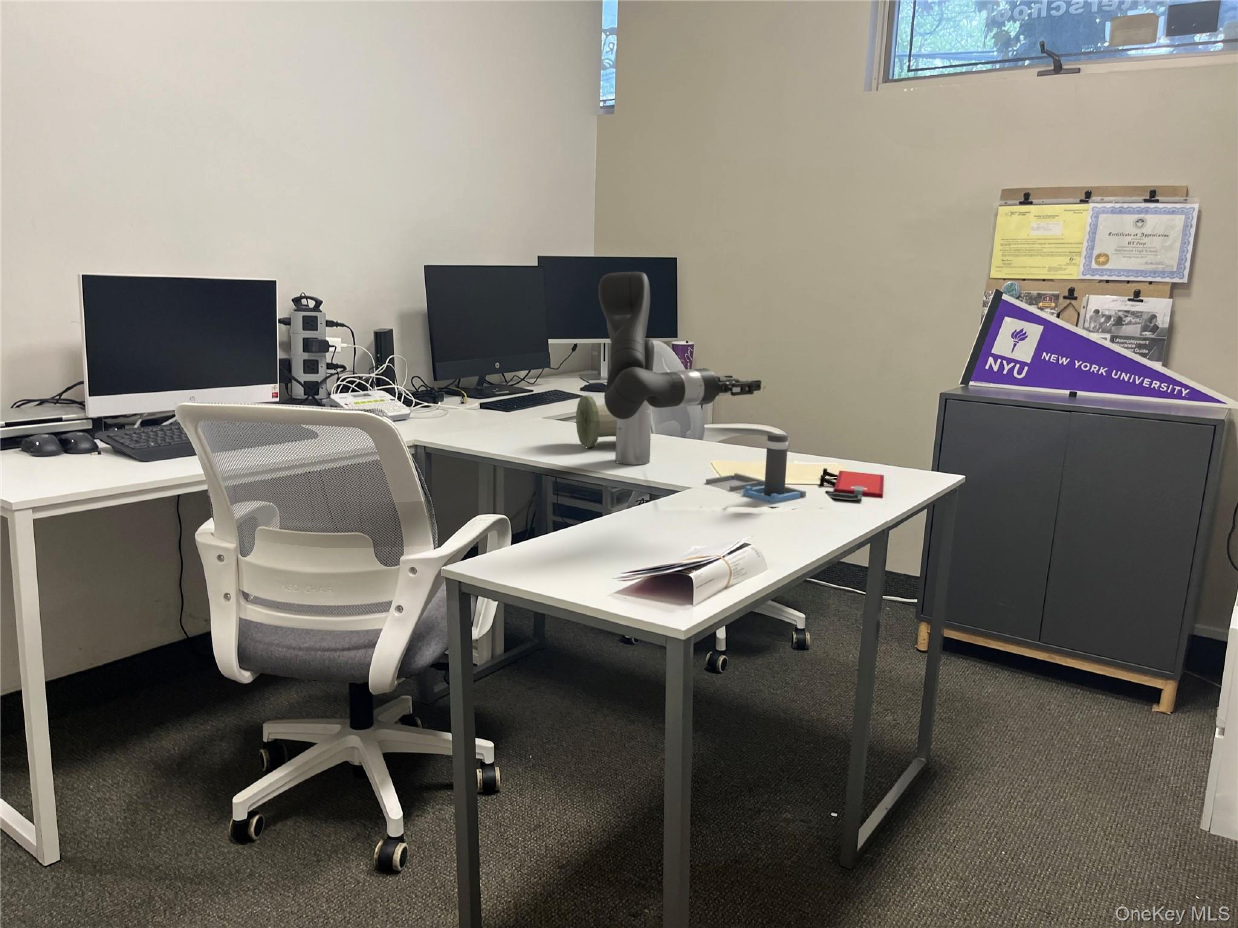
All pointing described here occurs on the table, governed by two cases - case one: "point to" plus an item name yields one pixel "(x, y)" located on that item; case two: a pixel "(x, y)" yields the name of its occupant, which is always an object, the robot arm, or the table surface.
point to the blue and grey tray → (753, 488)
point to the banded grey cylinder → (776, 464)
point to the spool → (593, 421)
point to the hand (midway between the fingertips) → (745, 382)
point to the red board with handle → (853, 485)
